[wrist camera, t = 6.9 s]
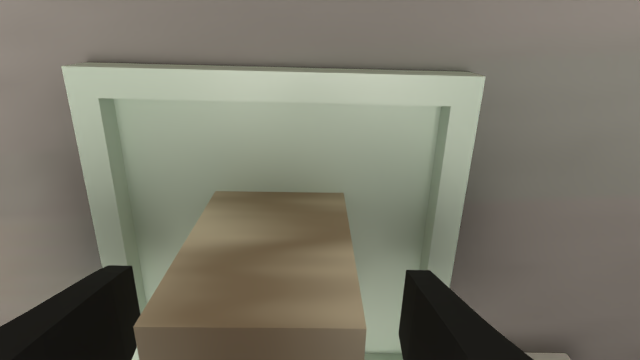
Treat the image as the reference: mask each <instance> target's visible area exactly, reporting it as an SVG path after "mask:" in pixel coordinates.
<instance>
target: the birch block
mask: <svg viewBox="0 0 640 360" xmlns="http://www.w3.org/2000/svg"><path fill="white" fill-rule="evenodd" d="M133 328H134V334H135V339H136V344H137V350H138V355H139V360H364V357H365V344H366V331H367V328H366V322H365V316H364V310H363V304H362V298H361V292H360V286H359V281H358V275H357V269H356V263H355V257H354V251H353V245H352V239H351V233H350V227H349V221H348V216H347V210H346V204H345V198H344V193H317V192H242V191H215V193H214V194H213V196H212V198H211V199H210V201H209V203H208V204H207V206H206V207H205V209H204V211H203V212H202V214H201V216H200V217H199V219H198V221H197V222H196V224H195V226H194V227H193V229H192V231H191V232H190V234H189V236H188V237H187V239H186V241H185V242H184V244H183V246H182V247H181V249H180V250H179V252H178V254H177V255H176V257H175V259H174V260H173V262H172V264H171V265H170V267H169V269H168V270H167V272H166V274H165V275H164V277H163V279H162V280H161V282H160V284H159V285H158V287H157V288H156V290H155V292H154V293H153V295H152V297H151V298H150V300H149V302H148V303H147V305H146V307H145V308H144V310H143V312H142V313H141V315H140V317H139V318H138V320H137V322H136V323H135V325H134V326H133Z"/></svg>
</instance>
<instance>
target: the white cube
mask: <svg viewBox="0 0 640 360" xmlns="http://www.w3.org/2000/svg"><path fill="white" fill-rule="evenodd" d="M526 354H527V355H528V356H530V357H531V358H532V359H534V360H571V359H570V358H569V356H568V355H567V354H566V353H526Z"/></svg>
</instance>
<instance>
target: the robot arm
mask: <svg viewBox="0 0 640 360" xmlns="http://www.w3.org/2000/svg"><path fill="white" fill-rule="evenodd" d="M139 317H140V309H139V303H138V297H137V291H136V286H135V280H134V274H133V268H132V266H118V265H108V266H106V267H104V268H102V269H100V270H98V271H96V272H94V273H92V274H90V275H89V276H87V277H85V278H84V279H82V280H80V281H78V282H77V283H75V284H73V285H72V286H70V287H68V288H67V289H65V290H63V291H62V292H60V293H58V294H56V295H55V296H53V297H51V298H50V299H48V300H46V301H45V302H43V303H41V304H39V305H38V306H36V307H34V308H33V309H31V310H29V311H28V312H26V313H24V314H22V315H21V316H19V317H17V318H15V319H13V320H12V321H10V322H8V323H6V324H4V325H2V326H1V327H0V360H132V358H133V355H134V353H135V350H136V348H137V344H136V339H135V334H134V328H133V326H134V325H135V323H136V322H137V320H138V318H139ZM398 334H399V340H400V345H401V351H402V357H403V360H534V359H532V358H531V357H530V356H528V355H527V354H526V353H524V352H523V351H522V350H520V349H519V348H518V347H517V346H515V345H514V344H513V343H512V342H510V341H509V340H508V339H507V338H505V337H504V336H503V335H502V334H500V333H499V332H498V331H497V330H496V329H494V328H493V327H492V326H491V325H490V324H488V323H487V322H486V321H485V320H484V319H483V318H481V317H480V316H479V315H478V314H477V313H476V312H475V311H474V310H472V309H471V308H470V307H469V306H468V305H467V304H466V303H465V302H464V301H463V300H462V299H460V298H459V297H458V296H457V295H456V294H455V293H454V292H453V291H452V290H451V289H450V288H449V287H448V286H447V285H445V284H444V283H443V282H442V281H441V280H440V279H439V278H438V277H437V276H436V275H435V274H434V273H432V272H431V271H430V270H406V275H405V283H404V291H403V300H402V308H401V316H400V325H399V333H398Z"/></svg>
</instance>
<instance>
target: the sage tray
mask: <svg viewBox="0 0 640 360" xmlns="http://www.w3.org/2000/svg"><path fill="white" fill-rule="evenodd" d="M61 67H62V72H63V77H64V82H65V87H66V92H67V97H68V101H69V106H70V111H71V116H72V121H73V126H74V131H75V136H76V141H77V146H78V151H79V156H80V161H81V166H82V171H83V176H84V181H85V186H86V191H87V195H88V200H89V205H90V210H91V215H92V220H93V225H94V230H95V235H96V240H97V245H98V250H99V255H100V260H101V265H102V268H104V267H106V266H108V265H118V266H132V268H133V274H134V280H135V286H136V291H137V297H138V303H139V309H140V315H141V313H142V312H143V310H144V308H145V307H146V305H147V303H148V302H149V300H150V298H151V297H152V295H153V293H154V292H155V290H156V288H157V287H158V285H159V284H160V282H161V280H162V279H163V277H164V275H165V274H166V272H167V270H168V269H169V267H170V265H171V264H172V262H173V260H174V259H175V257H176V255H177V254H178V252H179V250H180V249H181V247H182V246H183V244H184V242H185V241H186V239H187V237H188V236H189V234H190V232H191V231H192V229H193V227H194V226H195V224H196V222H197V221H198V219H199V217H200V216H201V214H202V212H203V211H204V209H205V207H206V206H207V204H208V203H209V201H210V199H211V198H212V196H213V194H214V193H215V191H242V192H317V193H344V198H345V204H346V210H347V216H348V221H349V227H350V233H351V239H352V245H353V251H354V257H355V263H356V269H357V275H358V281H359V286H360V292H361V298H362V304H363V310H364V316H365V322H366V328H367V331H366V344H365V357H364V360H403V357H402V351H401V345H400V340H399V334H398V333H399V325H400V316H401V308H402V300H403V291H404V283H405V275H406V270H430V271H431V272H432V273H434V274H435V275H436V276H437V277H438V278H439V279H440V280H441V281H442V282H443V283H444V284H445V285H447V286H448V287H449V288H450V283H451V277H452V271H453V265H454V259H455V253H456V247H457V241H458V236H459V230H460V224H461V218H462V212H463V206H464V200H465V195H466V189H467V183H468V177H469V171H470V165H471V159H472V153H473V148H474V142H475V136H476V130H477V124H478V118H479V112H480V106H481V101H482V95H483V89H484V83H485V76H482V75H478V74H475V73H472V72H460V71H419V70H379V69H338V68H298V67H257V66H217V65H176V64H136V63H95V62H85V63H79V64H72V65H66V66H61ZM132 360H139V355H138V350H137V348H136V350H135V353H134V355H133V358H132Z"/></svg>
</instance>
